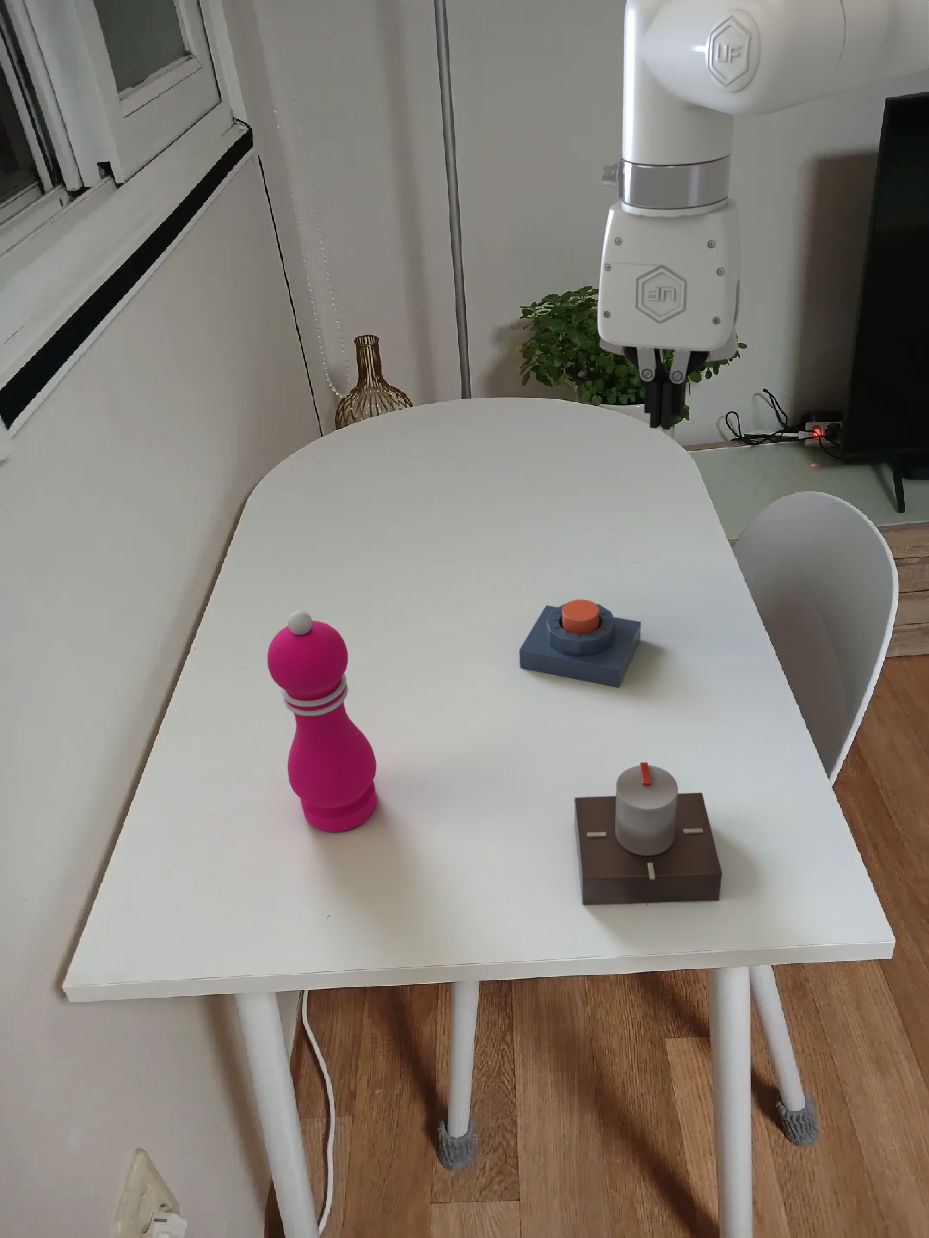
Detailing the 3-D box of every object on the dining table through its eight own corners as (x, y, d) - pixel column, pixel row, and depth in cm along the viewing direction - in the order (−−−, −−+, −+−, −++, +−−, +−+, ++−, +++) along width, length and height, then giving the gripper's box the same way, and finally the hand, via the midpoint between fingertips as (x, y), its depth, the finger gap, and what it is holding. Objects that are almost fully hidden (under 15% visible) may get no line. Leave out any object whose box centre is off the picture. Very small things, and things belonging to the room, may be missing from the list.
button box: (640, 639, 96) (641, 606, 94) (618, 687, 90) (619, 654, 88) (546, 622, 100) (545, 590, 97) (519, 667, 94) (518, 635, 92)
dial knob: (678, 855, 70) (682, 805, 67) (617, 856, 70) (618, 806, 67) (670, 810, 73) (673, 761, 70) (612, 811, 74) (613, 762, 71)
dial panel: (698, 815, 77) (701, 787, 75) (720, 903, 70) (723, 875, 68) (574, 820, 77) (573, 792, 75) (582, 908, 70) (582, 880, 68)
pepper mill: (303, 847, 77) (252, 652, 66) (293, 786, 83) (244, 597, 71) (390, 824, 78) (355, 629, 67) (374, 766, 84) (338, 577, 73)
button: (603, 617, 94) (603, 602, 93) (593, 638, 91) (593, 623, 90) (568, 610, 95) (568, 596, 94) (557, 631, 92) (556, 616, 91)
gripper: (558, 195, 68) (563, 432, 79) (775, 197, 63) (748, 452, 73) (589, 172, 73) (590, 397, 84) (791, 172, 68) (764, 412, 79)
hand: (663, 422), depth 79 cm, fingers closed
